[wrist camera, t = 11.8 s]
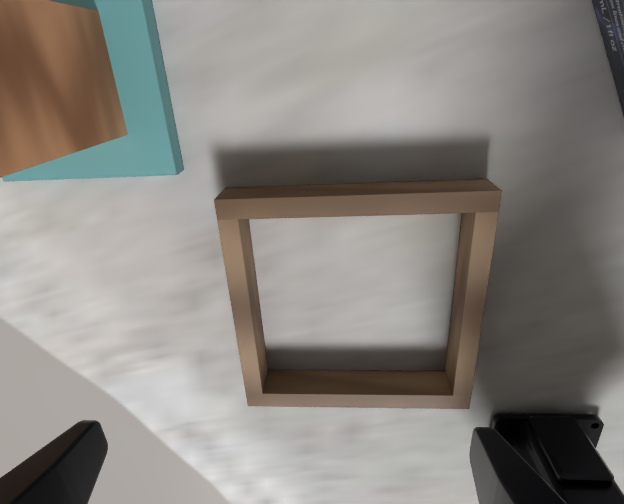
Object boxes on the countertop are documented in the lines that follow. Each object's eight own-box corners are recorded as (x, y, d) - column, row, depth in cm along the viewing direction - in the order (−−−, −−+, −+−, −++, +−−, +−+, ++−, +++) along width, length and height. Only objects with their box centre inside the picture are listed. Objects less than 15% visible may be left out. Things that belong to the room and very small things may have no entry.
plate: (183, 170, 20) (176, 175, 19) (18, 176, 21) (3, 181, 20) (142, -47, 17) (131, -53, 16) (-58, -29, 17) (-80, -34, 16)
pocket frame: (460, 383, 25) (469, 408, 23) (254, 382, 26) (248, 406, 24) (486, 178, 20) (501, 190, 18) (225, 187, 21) (214, 199, 19)
